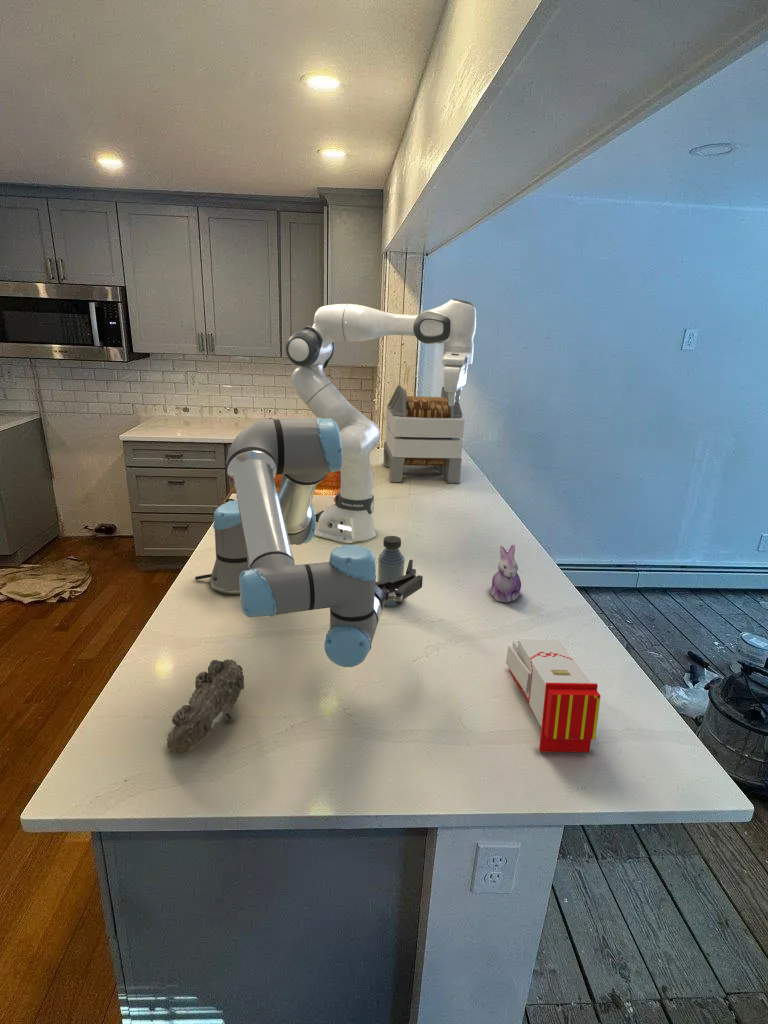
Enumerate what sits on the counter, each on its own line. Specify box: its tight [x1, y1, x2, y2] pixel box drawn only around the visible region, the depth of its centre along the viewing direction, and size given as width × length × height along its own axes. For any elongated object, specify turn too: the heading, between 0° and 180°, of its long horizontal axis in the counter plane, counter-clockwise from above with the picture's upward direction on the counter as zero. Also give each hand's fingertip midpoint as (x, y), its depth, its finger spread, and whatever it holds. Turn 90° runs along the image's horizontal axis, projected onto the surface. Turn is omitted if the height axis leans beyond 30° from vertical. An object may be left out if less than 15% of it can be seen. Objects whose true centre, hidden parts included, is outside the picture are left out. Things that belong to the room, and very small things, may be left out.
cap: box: [382, 535, 402, 549], centre depth 149 cm, size 5×5×2 cm
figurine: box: [490, 544, 522, 603], centre depth 157 cm, size 9×10×15 cm
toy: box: [505, 638, 602, 753], centre depth 114 cm, size 12×13×30 cm
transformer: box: [383, 384, 465, 484], centre depth 268 cm, size 34×33×41 cm
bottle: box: [376, 547, 406, 607], centre depth 152 cm, size 7×7×18 cm
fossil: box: [166, 658, 245, 754], centre depth 106 cm, size 22×10×15 cm
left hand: (380, 562), depth 127 cm, fingers open, 13 cm apart
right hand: (454, 403), depth 174 cm, fingers open, 8 cm apart
